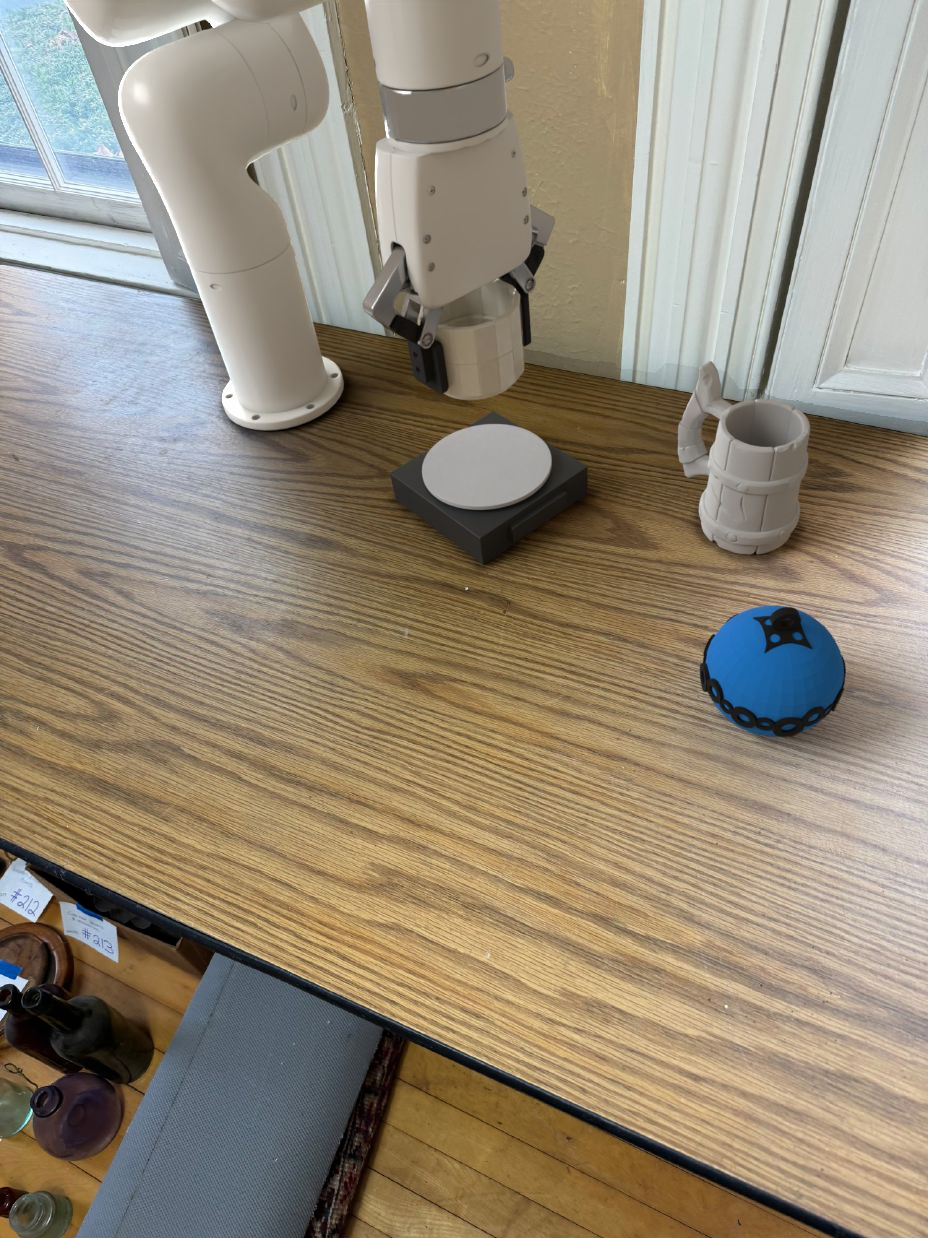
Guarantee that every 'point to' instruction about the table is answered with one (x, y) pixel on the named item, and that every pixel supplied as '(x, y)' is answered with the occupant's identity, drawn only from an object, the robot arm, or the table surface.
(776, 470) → the mug
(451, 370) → the off-white faceted cup
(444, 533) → the scale
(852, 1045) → the table surface
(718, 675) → the ornament
